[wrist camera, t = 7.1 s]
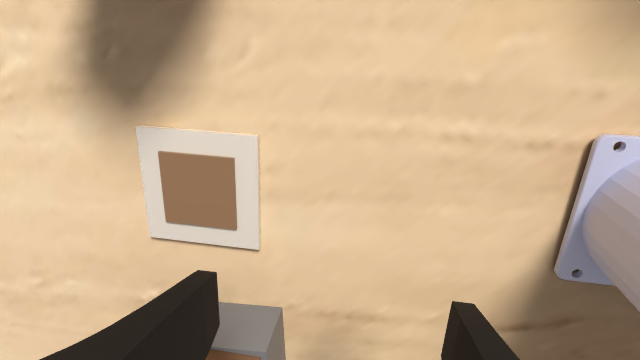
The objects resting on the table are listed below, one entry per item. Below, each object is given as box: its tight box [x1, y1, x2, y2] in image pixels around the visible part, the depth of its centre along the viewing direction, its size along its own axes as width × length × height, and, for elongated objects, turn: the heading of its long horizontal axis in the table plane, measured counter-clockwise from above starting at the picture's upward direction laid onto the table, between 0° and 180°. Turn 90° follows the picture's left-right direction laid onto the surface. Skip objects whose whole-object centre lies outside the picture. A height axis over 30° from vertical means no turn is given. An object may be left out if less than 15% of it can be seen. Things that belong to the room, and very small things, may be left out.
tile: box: [135, 125, 261, 250], centre depth 23 cm, size 7×7×1 cm
